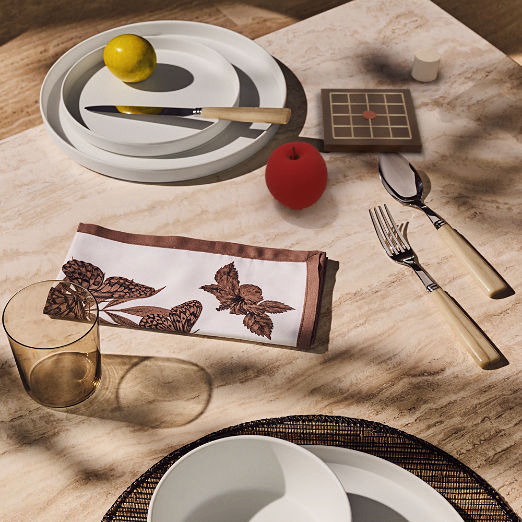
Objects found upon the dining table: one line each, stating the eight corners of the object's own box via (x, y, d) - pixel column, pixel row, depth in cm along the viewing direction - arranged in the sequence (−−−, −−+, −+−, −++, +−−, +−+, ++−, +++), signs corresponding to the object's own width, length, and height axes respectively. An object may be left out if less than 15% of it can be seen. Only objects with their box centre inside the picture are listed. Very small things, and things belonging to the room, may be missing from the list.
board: (408, 96, 116) (410, 88, 115) (420, 152, 106) (422, 144, 105) (320, 95, 116) (320, 87, 115) (323, 152, 106) (324, 143, 105)
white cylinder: (434, 68, 121) (438, 47, 118) (438, 82, 119) (442, 61, 116) (409, 67, 122) (413, 47, 119) (413, 81, 119) (416, 61, 116)
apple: (337, 210, 97) (342, 155, 90) (278, 226, 95) (279, 172, 88) (311, 171, 103) (315, 116, 96) (255, 185, 101) (254, 131, 94)
